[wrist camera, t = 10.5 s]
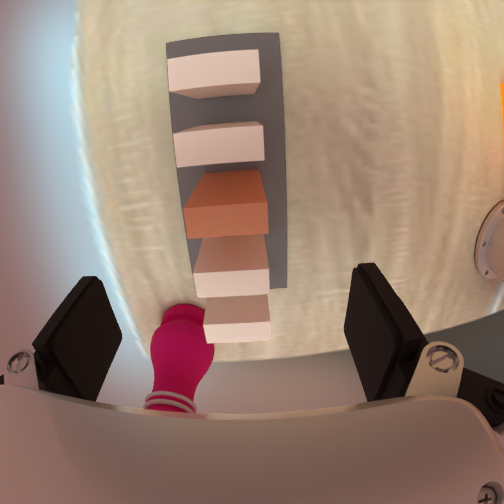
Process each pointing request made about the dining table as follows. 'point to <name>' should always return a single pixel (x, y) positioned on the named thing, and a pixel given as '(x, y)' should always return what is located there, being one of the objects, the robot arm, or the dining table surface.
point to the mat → (241, 110)
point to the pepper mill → (178, 359)
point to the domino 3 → (227, 205)
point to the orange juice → (503, 93)
